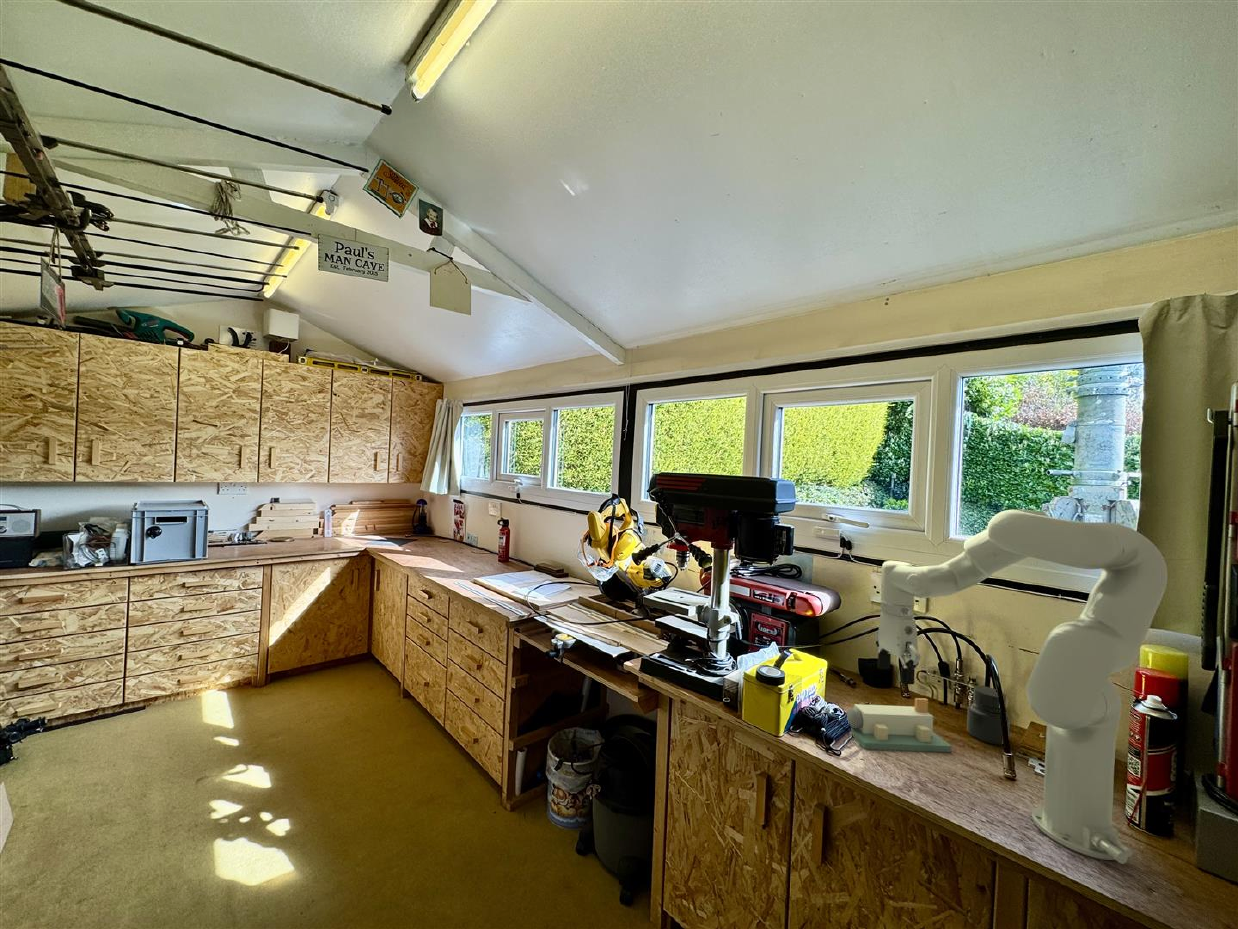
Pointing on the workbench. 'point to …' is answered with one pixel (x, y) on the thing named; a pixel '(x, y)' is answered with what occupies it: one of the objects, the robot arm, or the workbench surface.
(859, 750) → the workbench surface
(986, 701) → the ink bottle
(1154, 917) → the workbench surface
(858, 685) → the workbench surface
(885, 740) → the jig
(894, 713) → the block with grey endcap
